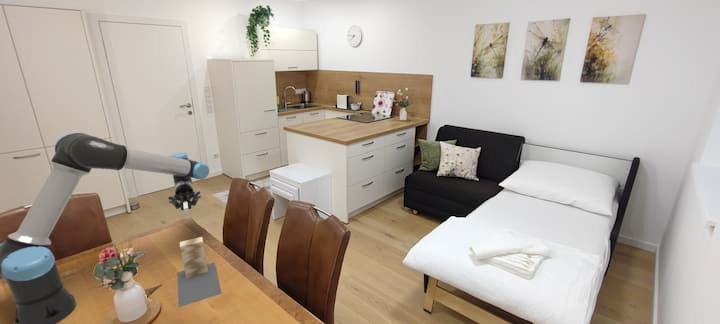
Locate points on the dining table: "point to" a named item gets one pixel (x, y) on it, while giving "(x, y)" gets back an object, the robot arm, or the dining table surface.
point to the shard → (151, 290)
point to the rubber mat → (198, 286)
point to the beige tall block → (193, 257)
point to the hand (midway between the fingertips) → (186, 211)
